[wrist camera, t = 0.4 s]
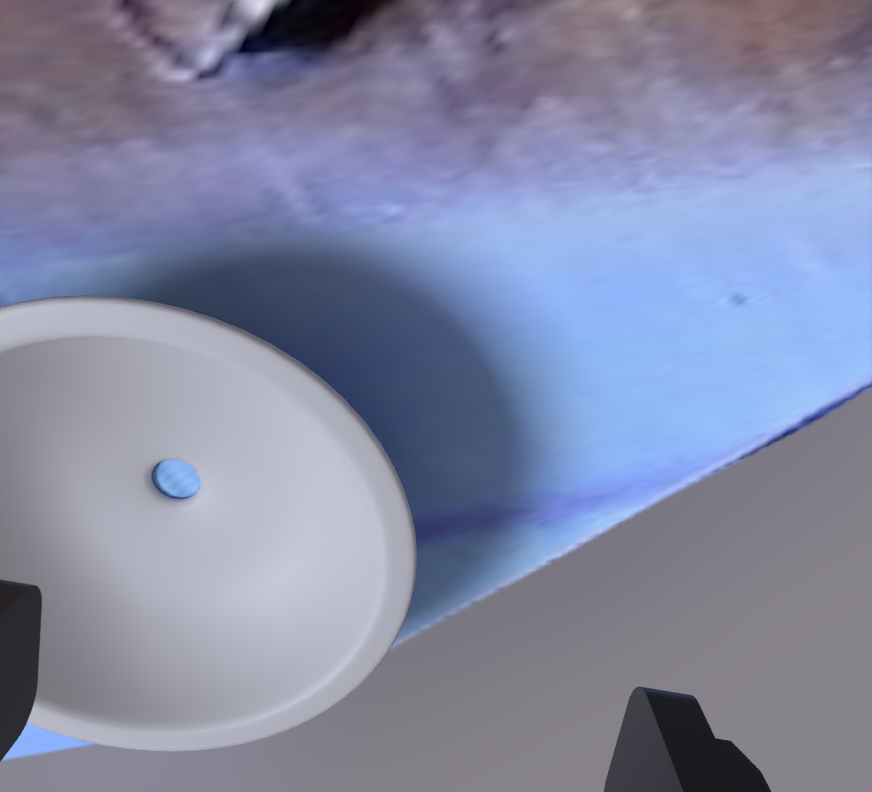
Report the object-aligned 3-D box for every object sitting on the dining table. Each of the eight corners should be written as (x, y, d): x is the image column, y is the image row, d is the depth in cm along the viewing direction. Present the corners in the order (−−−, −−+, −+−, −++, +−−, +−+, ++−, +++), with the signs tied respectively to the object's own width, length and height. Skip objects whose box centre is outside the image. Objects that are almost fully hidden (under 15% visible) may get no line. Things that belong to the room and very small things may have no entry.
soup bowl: (-167, 481, 40) (-266, 568, 34) (114, 124, 33) (49, 157, 27) (219, 715, 49) (192, 818, 43) (515, 473, 41) (531, 556, 35)
